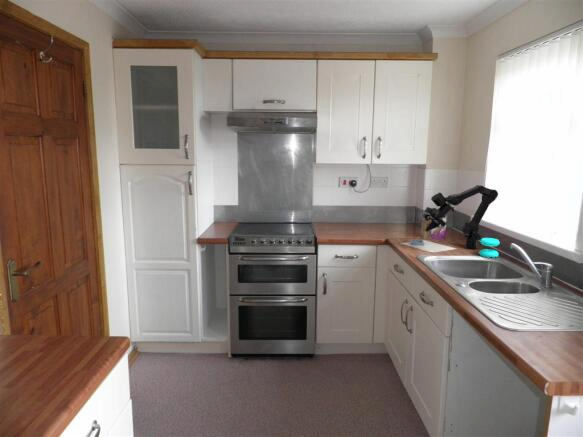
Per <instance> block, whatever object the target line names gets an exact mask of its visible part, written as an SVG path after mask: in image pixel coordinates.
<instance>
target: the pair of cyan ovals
mask: <svg viewBox="0 0 583 437" xmlns="http://www.w3.org/2000/svg"><path fill="white" fill-rule="evenodd" d="M500 243H501V242H500V241H499V239H497V238H490V237H482V238H480V244H481V245H483V246H484V247H485V246H486V247H498V246H500ZM479 256H481V257H484V258H487V257H492V258H491V259H495V257H496V258H498V257H499V252H498V251H497V250H495V249H488V248H484V249H481V250H479Z"/></svg>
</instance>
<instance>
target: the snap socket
mask: <svg viewBox="0 0 583 437" xmlns="http://www.w3.org/2000/svg"><path fill="white" fill-rule="evenodd" d="M409 242H410V244H411V245H419V246H424V242H423V239H409Z"/></svg>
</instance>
